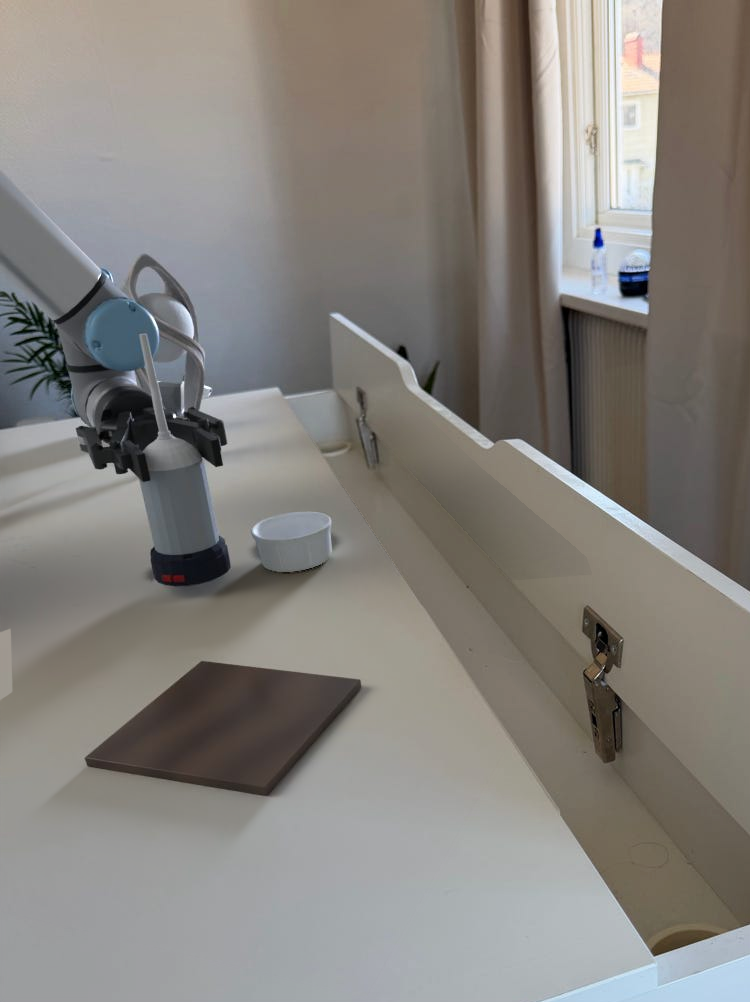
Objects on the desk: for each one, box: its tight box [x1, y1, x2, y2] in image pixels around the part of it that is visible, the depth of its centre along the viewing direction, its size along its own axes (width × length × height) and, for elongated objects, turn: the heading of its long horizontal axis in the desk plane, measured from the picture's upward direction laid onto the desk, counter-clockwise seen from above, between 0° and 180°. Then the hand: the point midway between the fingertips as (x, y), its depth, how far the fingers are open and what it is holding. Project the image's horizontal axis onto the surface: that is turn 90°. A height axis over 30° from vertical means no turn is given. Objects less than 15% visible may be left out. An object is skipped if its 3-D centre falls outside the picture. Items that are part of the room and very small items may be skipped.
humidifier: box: [138, 334, 232, 587], centre depth 100 cm, size 8×8×25 cm
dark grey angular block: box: [157, 375, 213, 416], centre depth 166 cm, size 15×6×10 cm, turn 91°
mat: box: [84, 660, 362, 796], centre depth 79 cm, size 16×16×1 cm
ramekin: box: [250, 511, 333, 573], centre depth 110 cm, size 9×9×4 cm
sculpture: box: [119, 253, 206, 411], centre depth 144 cm, size 12×12×30 cm
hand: (181, 460), depth 96 cm, fingers closed on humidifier, 7 cm apart
